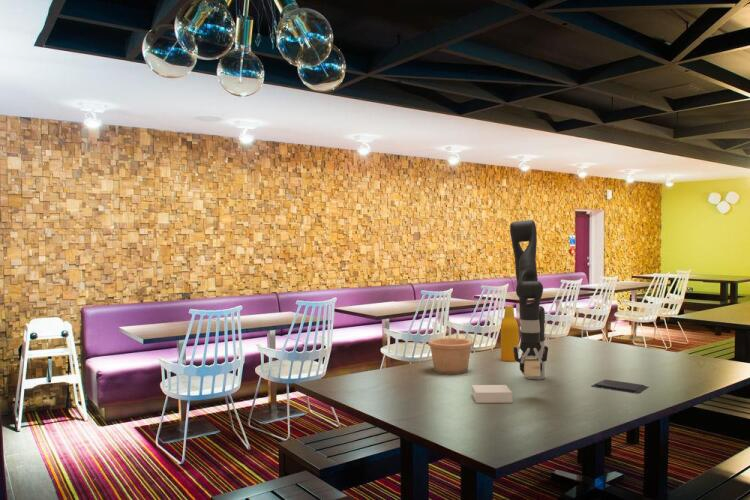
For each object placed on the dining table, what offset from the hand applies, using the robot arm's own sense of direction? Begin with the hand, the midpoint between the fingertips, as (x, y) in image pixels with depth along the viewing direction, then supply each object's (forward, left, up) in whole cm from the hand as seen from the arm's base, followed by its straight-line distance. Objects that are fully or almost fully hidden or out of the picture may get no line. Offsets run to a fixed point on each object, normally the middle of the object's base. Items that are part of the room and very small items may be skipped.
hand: (530, 371), depth 229 cm
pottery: (-50, -27, -10) cm, 58 cm away
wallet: (-16, +42, -11) cm, 46 cm away
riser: (+2, -16, -10) cm, 19 cm away
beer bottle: (-75, +7, -10) cm, 76 cm away
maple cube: (0, 0, -1) cm, 1 cm away
